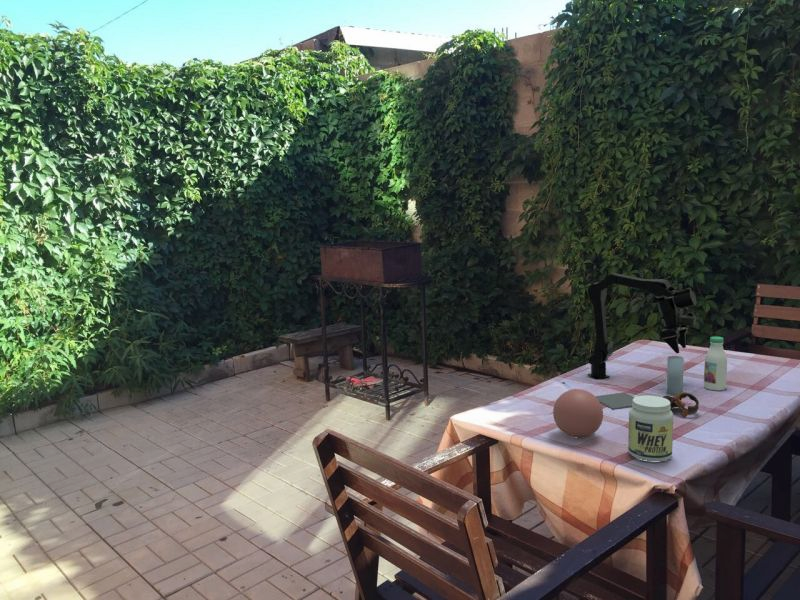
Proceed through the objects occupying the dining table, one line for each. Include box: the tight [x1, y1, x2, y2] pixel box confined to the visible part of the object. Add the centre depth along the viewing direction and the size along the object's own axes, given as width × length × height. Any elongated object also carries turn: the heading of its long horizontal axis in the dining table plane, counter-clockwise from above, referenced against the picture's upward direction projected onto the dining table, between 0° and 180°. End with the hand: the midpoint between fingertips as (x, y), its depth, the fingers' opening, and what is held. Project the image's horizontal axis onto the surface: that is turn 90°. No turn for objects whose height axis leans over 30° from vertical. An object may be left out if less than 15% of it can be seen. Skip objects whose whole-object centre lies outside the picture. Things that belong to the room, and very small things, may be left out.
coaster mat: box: [594, 392, 636, 410], centre depth 237 cm, size 14×14×1 cm
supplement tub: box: [627, 395, 674, 462], centre depth 188 cm, size 12×12×17 cm
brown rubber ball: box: [552, 388, 604, 439], centre depth 207 cm, size 15×20×15 cm
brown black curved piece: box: [662, 391, 700, 418], centre depth 222 cm, size 12×10×8 cm
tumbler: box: [666, 355, 685, 397], centre depth 241 cm, size 6×6×14 cm
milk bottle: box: [703, 336, 728, 392], centre depth 245 cm, size 8×8×20 cm
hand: (681, 350), depth 246 cm, fingers open, 9 cm apart
